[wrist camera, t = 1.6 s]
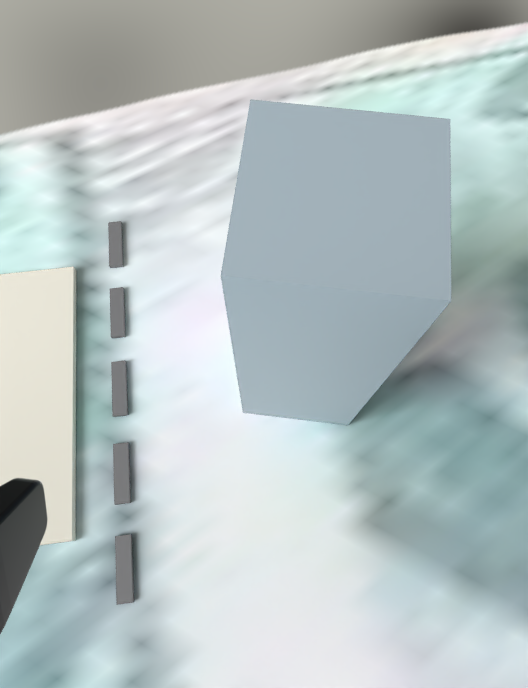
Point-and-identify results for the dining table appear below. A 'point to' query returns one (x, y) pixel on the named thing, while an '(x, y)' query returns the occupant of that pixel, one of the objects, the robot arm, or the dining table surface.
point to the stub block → (334, 254)
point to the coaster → (40, 390)
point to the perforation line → (120, 409)
